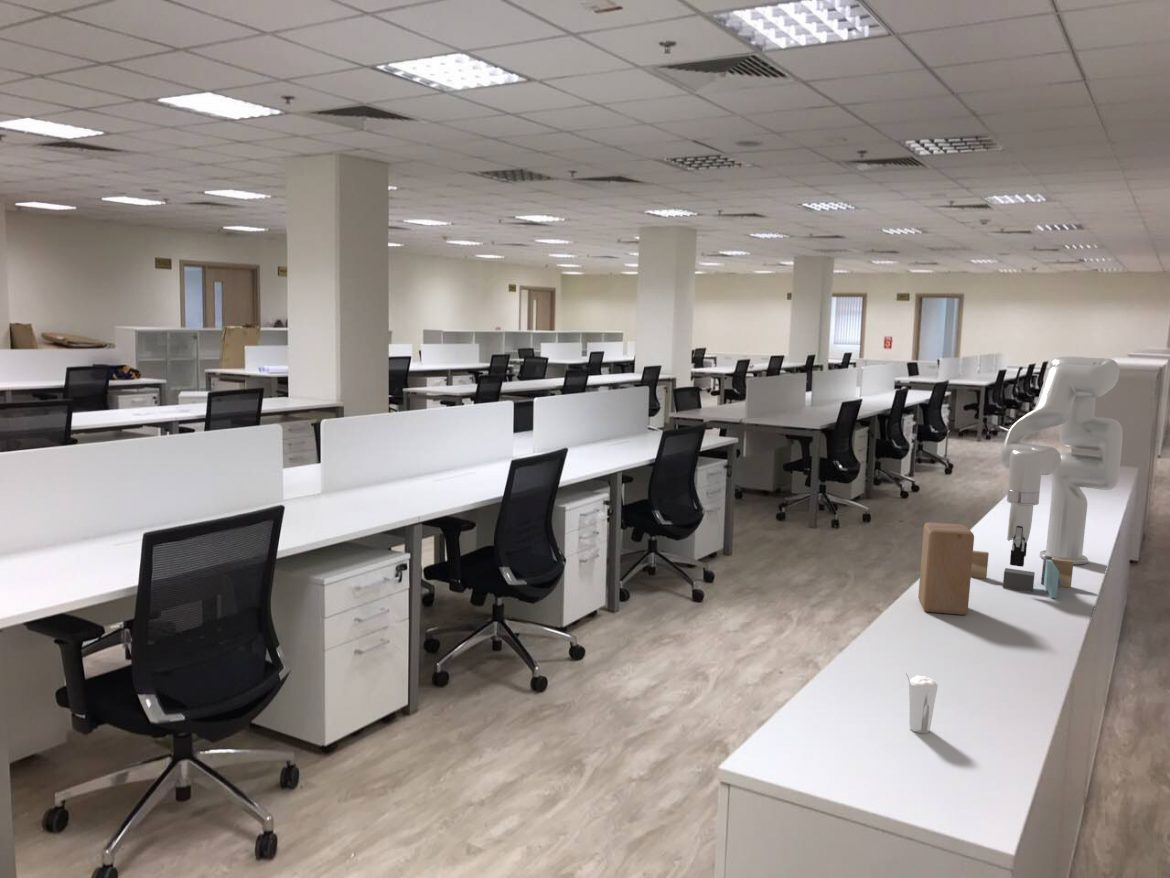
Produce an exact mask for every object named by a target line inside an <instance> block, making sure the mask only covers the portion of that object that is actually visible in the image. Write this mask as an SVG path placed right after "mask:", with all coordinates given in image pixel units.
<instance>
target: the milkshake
mask: <svg viewBox="0 0 1170 878" xmlns="http://www.w3.org/2000/svg"><path fill="white" fill-rule="evenodd" d="M905 674H906V677H907V680H908V691H909V693H908V697H909V730H911V731H912V732H914V733H917V734H928V733H930V732H931V726H932V721H933V715H934V714H933V713H934V709H935V708H934V707H935V702H936V696H937V691H938V686H939V685H938V684H937V682H936V681H935V680H934V679H933V678H930V677H928V676H926V675H915V676H913V677H911V678H909V676H908V673H907V672H906V673H905Z"/></svg>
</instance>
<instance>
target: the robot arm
mask: <svg viewBox="0 0 1170 878" xmlns="http://www.w3.org/2000/svg"><path fill="white" fill-rule="evenodd" d="M1119 377H1120V366H1119V364H1118V362H1116V361H1115V359H1111V358H1101V357H1084V356H1059V357H1055V358H1053V359H1052V360H1051V362H1050V364H1049V369H1048V371H1047V372H1046V374H1045V377H1044V381H1043V384H1042V385H1041V386H1042V387H1041V389H1040V392H1039V396H1038V398H1037V400H1036V403H1035V407H1034V409H1032V410H1031V411H1029V412H1027V413H1026V414H1024V415H1023V416H1022V417H1020V418H1019V419H1018V420H1016V421H1015V422H1014V423H1013V425H1011V426H1010V428H1009V430H1008V431H1007V434H1006V436H1005V439H1004V441H1003V444H1002V447H1001V452H1000V458H999V459H1000V464H1001V465H1002V467H1003V468H1004V469H1006V470H1008V478H1007V479H1008V481H1007V482H1008V483H1007V491H1006V492H1007V493H1006V494H1007V495H1006V502H1007V503H1009V504H1010V506H1009V513H1008V514H1009V516H1008V526H1007V538H1006V539H1007V541H1008V542H1010V541H1012V545H1011V549H1010V556H1009V557H1010V559H1009V565H1010V566H1015V567H1022V568H1023V567H1024V565H1025V557H1026V556H1027V548H1028V547H1027V546H1028V541H1029V538H1030V534H1031V529H1032V523H1033V522H1032V521H1033V515H1034V514H1033V513H1034V506H1037V505H1039V504H1040V493H1041V491H1040V490H1041V479H1042V476H1048V475H1050V480H1051V494H1050V495H1051V496H1050V507H1049V514H1048V527H1047V538H1046V547H1045V550H1042V551H1039V557H1040V558H1041V559H1042V560H1043V559H1044V556H1051V557H1052V558H1053V559H1063V560H1072V561H1073V565H1085V564H1087V563H1088V562H1089V558H1088V557H1087V556H1086V555H1083V552H1084V550H1083V549H1084V544H1085V543H1084V542H1085V541H1084V540H1085V534H1086V533H1085V530H1086V521H1087V512H1088V499H1087V497H1086V495H1085V493H1084V492H1083V490H1082V488H1085V489H1086V488H1087V489H1095V490H1100V491H1101V490H1102V491H1104V490H1105V491H1109V490H1113V489H1115V487H1116V486H1117V484H1118V482H1119V478H1120V471H1121V470H1120V469H1121V461H1122V447H1123V435H1124V434H1123V432H1124V431H1123V427H1122V425H1121V423H1120V422H1119V421H1118V420H1116V419H1114V418H1109V417H1108V418H1107V417H1097V416H1096V415H1095V411H1096V398H1100V397H1102V396H1104V395H1105V394H1107V393H1108V392H1109V391H1111V390H1112V389H1113V388H1114V387H1115V386H1116V384H1117V383H1118V381H1119ZM1057 426H1059V434H1058V435H1059V441H1060V444H1061V445H1062V446H1064V447H1066V448H1071V449H1078V450H1085V451H1087V450H1088V451H1094V452H1098V453H1099V454H1100V455H1096V454H1088V453H1081V452H1073V451H1072V452H1069V451H1067V452H1065V451H1064V452H1060V451H1059V450H1058V449H1056V448H1054V447H1053V446H1049V445H1040V444H1033V443H1024V442H1022V441H1023V440H1024V438H1026V437H1028V436H1029V435H1031V434H1034V433H1036V432H1039V431H1043V430H1046V429H1050V428H1054V427H1057Z"/></svg>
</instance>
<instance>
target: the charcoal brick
mask: <svg viewBox="0 0 1170 878" xmlns="http://www.w3.org/2000/svg"><path fill="white" fill-rule="evenodd" d="M1035 574H1036V571H1030V570H1028V571H1027V570H1023V569H1022V570H1021V569H1014V568H1007V567H1004V572H1003V581H1002V588H1003V589H1007V590H1014V591H1021V592H1028V593H1033V591H1034V586H1035V585H1034V583H1035Z"/></svg>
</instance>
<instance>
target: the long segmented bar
mask: <svg viewBox="0 0 1170 878" xmlns="http://www.w3.org/2000/svg"><path fill="white" fill-rule="evenodd" d="M1046 559H1047V560H1052V562H1053V563H1054V565H1055V566H1056V568H1057V569H1058V571H1059V579H1064V584H1063V585H1060V584H1058V588H1059V587H1060V588H1070V589H1071V588H1072V581H1073V580H1072V579H1073V571H1074V570H1073V568H1074V564H1073V561H1072V560H1063V559H1053V558H1052V557H1051V556H1044V559H1043V558H1042V571H1041V581H1040V584H1041V585H1043V586H1044V577H1045V567H1046ZM988 566H989V552H988V551H983V550H982V551H979V550H973V557H972V568H971V578H976V579H984V580H987V576H988Z"/></svg>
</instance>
